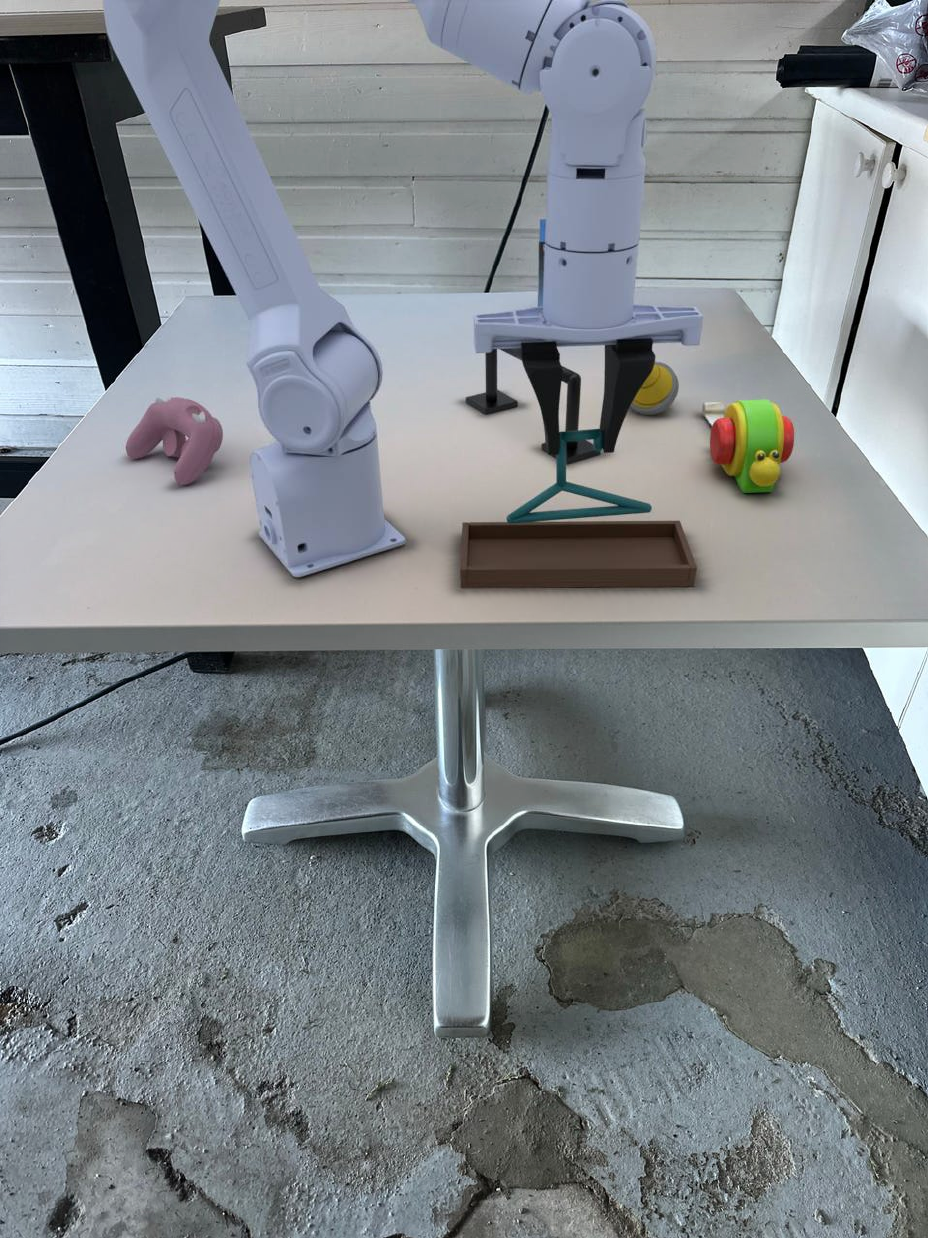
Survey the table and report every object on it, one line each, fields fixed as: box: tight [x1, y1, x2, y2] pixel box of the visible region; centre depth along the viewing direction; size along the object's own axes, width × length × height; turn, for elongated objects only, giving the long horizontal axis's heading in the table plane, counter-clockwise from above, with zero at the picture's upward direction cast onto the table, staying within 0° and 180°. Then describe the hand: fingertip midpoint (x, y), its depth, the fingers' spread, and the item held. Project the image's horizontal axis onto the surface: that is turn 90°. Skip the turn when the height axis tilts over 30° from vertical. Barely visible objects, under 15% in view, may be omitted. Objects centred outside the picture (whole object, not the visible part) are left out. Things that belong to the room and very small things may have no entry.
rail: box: [465, 348, 602, 465], centre depth 87 cm, size 4×18×8 cm, turn 31°
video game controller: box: [125, 396, 224, 486], centre depth 82 cm, size 10×5×7 cm, turn 47°
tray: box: [459, 520, 698, 589], centre depth 67 cm, size 17×7×2 cm, turn 89°
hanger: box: [505, 428, 653, 523], centre depth 64 cm, size 11×1×7 cm, turn 92°
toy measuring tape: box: [701, 398, 795, 494], centre depth 80 cm, size 6×20×7 cm, turn 0°
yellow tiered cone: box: [630, 361, 680, 416], centre depth 89 cm, size 5×5×10 cm
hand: (579, 447), depth 62 cm, fingers closed on hanger, 3 cm apart
